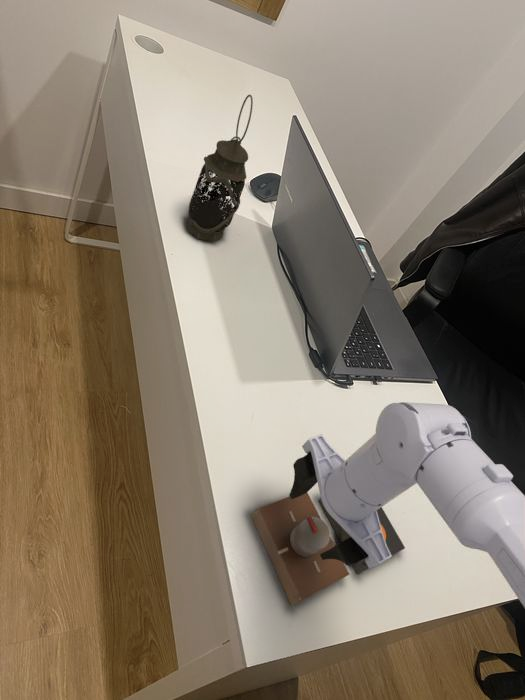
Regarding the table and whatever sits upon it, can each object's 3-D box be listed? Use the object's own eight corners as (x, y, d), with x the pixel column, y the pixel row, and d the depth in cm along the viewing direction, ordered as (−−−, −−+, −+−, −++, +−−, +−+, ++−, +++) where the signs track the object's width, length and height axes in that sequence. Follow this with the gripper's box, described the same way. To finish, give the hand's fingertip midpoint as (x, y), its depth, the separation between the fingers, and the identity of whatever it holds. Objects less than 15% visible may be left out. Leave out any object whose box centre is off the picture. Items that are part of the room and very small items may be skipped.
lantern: (182, 209, 102) (223, 74, 81) (224, 219, 105) (274, 91, 84) (183, 240, 96) (228, 103, 76) (228, 250, 99) (282, 121, 79)
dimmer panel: (339, 579, 66) (350, 573, 64) (290, 606, 62) (301, 601, 59) (298, 497, 71) (307, 488, 69) (250, 516, 67) (258, 508, 65)
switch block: (396, 552, 72) (412, 544, 69) (350, 578, 67) (365, 570, 64) (358, 483, 77) (371, 473, 74) (311, 503, 72) (324, 492, 69)
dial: (323, 550, 65) (336, 541, 62) (299, 561, 62) (312, 553, 60) (308, 521, 66) (321, 511, 64) (284, 531, 64) (296, 522, 61)
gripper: (437, 531, 49) (367, 568, 59) (360, 408, 55) (308, 460, 65) (388, 560, 45) (322, 594, 55) (311, 424, 51) (264, 477, 61)
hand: (311, 523), depth 59 cm, fingers open, 7 cm apart
